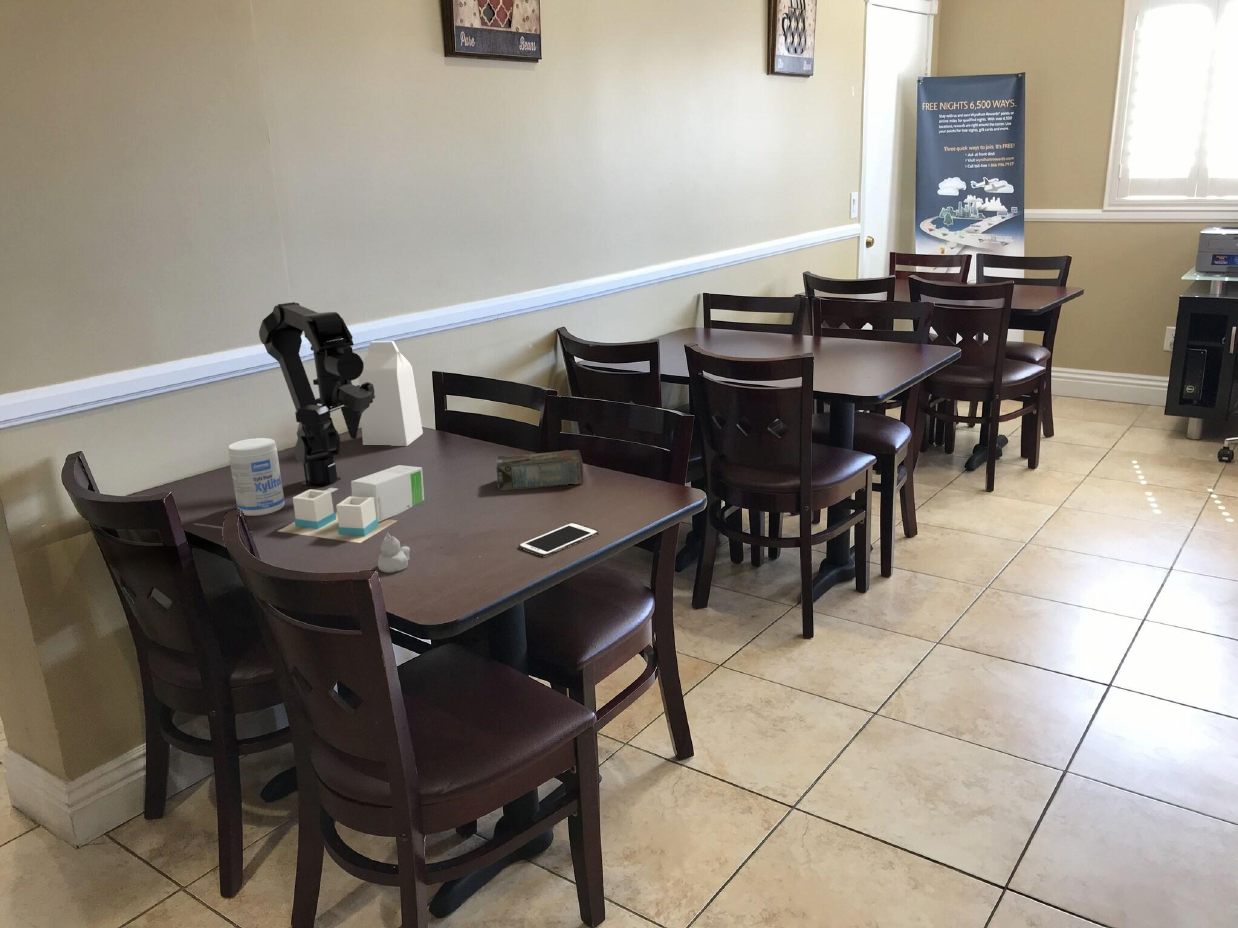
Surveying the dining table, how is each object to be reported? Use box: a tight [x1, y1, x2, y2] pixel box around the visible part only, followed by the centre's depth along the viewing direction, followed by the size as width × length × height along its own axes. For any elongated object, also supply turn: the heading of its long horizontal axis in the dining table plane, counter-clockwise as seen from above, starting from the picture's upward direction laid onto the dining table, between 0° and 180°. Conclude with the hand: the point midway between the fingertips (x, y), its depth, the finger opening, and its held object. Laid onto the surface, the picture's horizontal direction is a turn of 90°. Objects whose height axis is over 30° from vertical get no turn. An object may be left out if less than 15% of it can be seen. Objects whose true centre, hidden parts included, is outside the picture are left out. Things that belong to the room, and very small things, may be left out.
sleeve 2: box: [335, 495, 379, 536], centre depth 186 cm, size 6×6×6 cm
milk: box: [357, 340, 424, 447], centre depth 247 cm, size 12×12×26 cm
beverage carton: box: [495, 449, 584, 491], centre depth 212 cm, size 8×19×7 cm, turn 96°
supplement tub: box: [227, 437, 285, 517], centre depth 201 cm, size 10×10×15 cm
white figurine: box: [377, 531, 411, 574], centre depth 169 cm, size 5×7×8 cm
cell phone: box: [518, 522, 600, 556], centre depth 180 cm, size 8×15×1 cm, turn 137°
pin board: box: [277, 512, 398, 544], centre depth 189 cm, size 20×12×5 cm, turn 67°
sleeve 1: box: [292, 488, 336, 529], centre depth 191 cm, size 6×6×6 cm
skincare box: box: [350, 464, 425, 522], centre depth 196 cm, size 8×7×16 cm
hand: (340, 444), depth 205 cm, fingers open, 9 cm apart
